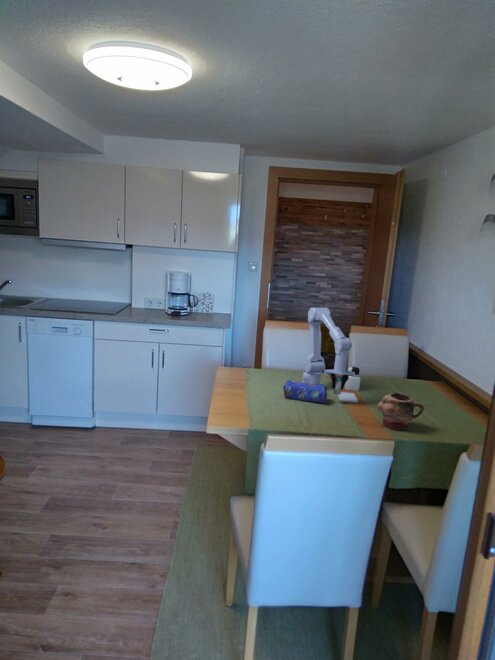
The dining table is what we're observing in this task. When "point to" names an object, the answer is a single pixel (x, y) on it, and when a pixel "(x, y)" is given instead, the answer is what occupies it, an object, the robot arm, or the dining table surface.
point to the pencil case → (305, 391)
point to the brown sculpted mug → (398, 410)
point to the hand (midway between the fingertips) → (337, 389)
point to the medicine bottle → (353, 380)
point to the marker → (338, 385)
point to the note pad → (347, 397)
